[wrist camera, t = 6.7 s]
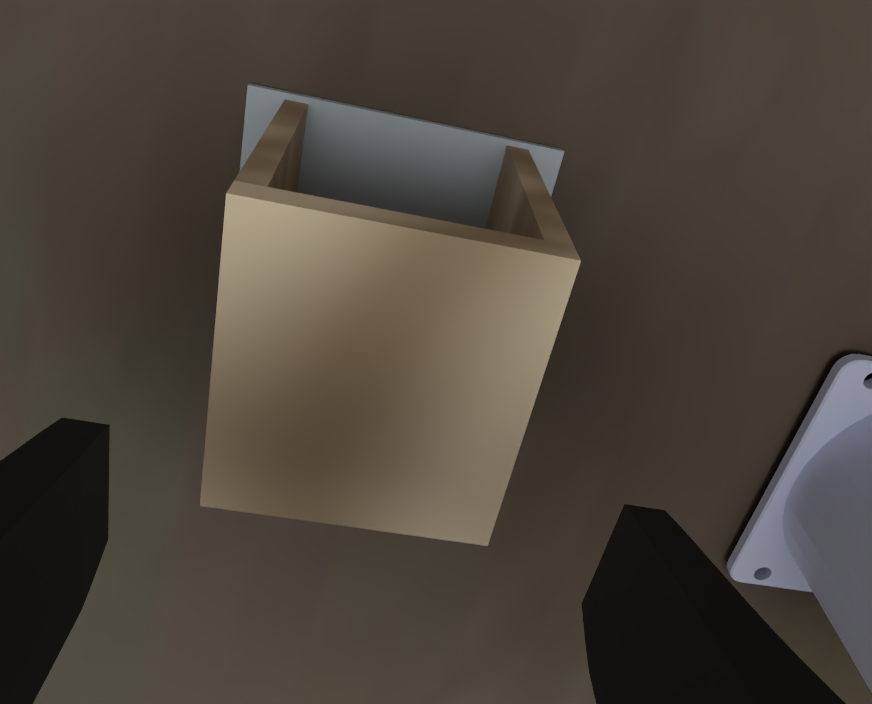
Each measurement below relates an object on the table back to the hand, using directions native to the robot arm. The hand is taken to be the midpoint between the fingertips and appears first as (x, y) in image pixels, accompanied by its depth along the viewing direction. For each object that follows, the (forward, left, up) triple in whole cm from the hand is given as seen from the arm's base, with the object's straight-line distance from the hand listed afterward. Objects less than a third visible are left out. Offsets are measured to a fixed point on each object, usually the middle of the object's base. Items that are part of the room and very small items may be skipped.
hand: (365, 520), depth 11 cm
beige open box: (0, 0, -9) cm, 9 cm away
